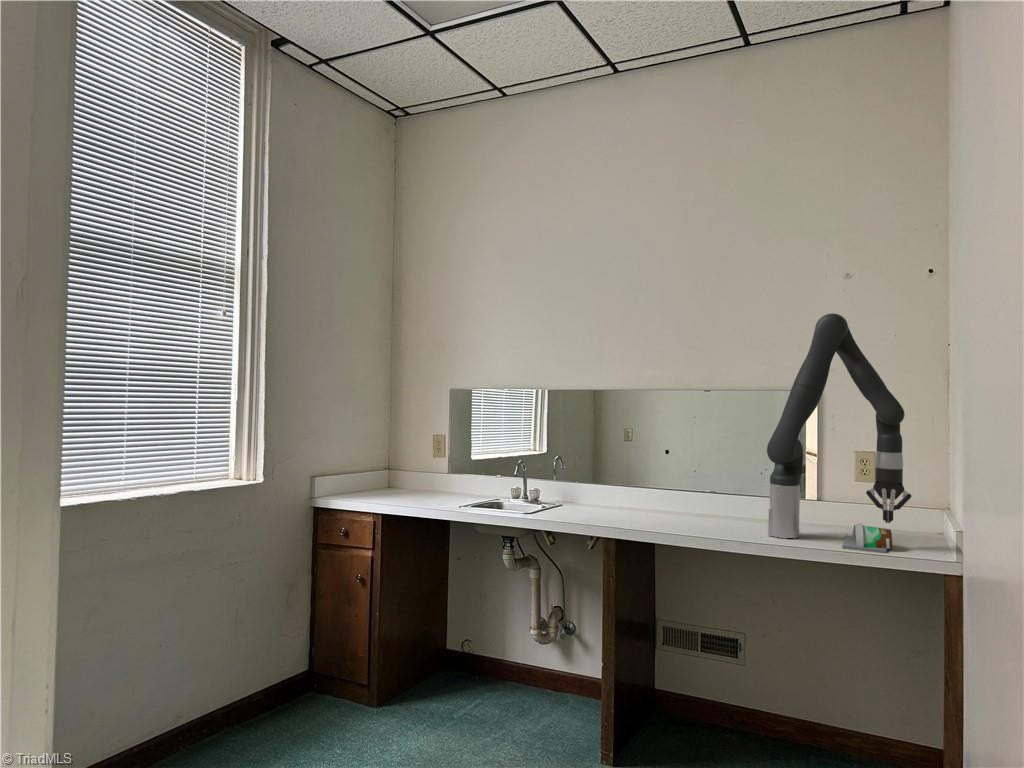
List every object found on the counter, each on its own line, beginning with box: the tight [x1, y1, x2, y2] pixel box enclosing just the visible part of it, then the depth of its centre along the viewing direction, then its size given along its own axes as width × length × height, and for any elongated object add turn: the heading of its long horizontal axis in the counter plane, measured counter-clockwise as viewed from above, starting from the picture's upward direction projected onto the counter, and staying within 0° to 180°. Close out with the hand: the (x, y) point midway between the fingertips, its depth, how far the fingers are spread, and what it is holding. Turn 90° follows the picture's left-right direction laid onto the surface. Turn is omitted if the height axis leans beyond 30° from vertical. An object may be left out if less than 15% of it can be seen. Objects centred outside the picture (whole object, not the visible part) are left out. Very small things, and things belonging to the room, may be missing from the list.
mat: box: [841, 535, 887, 554], centre depth 222 cm, size 12×16×1 cm
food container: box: [852, 522, 893, 550], centre depth 220 cm, size 12×6×10 cm
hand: (888, 522), depth 219 cm, fingers closed
